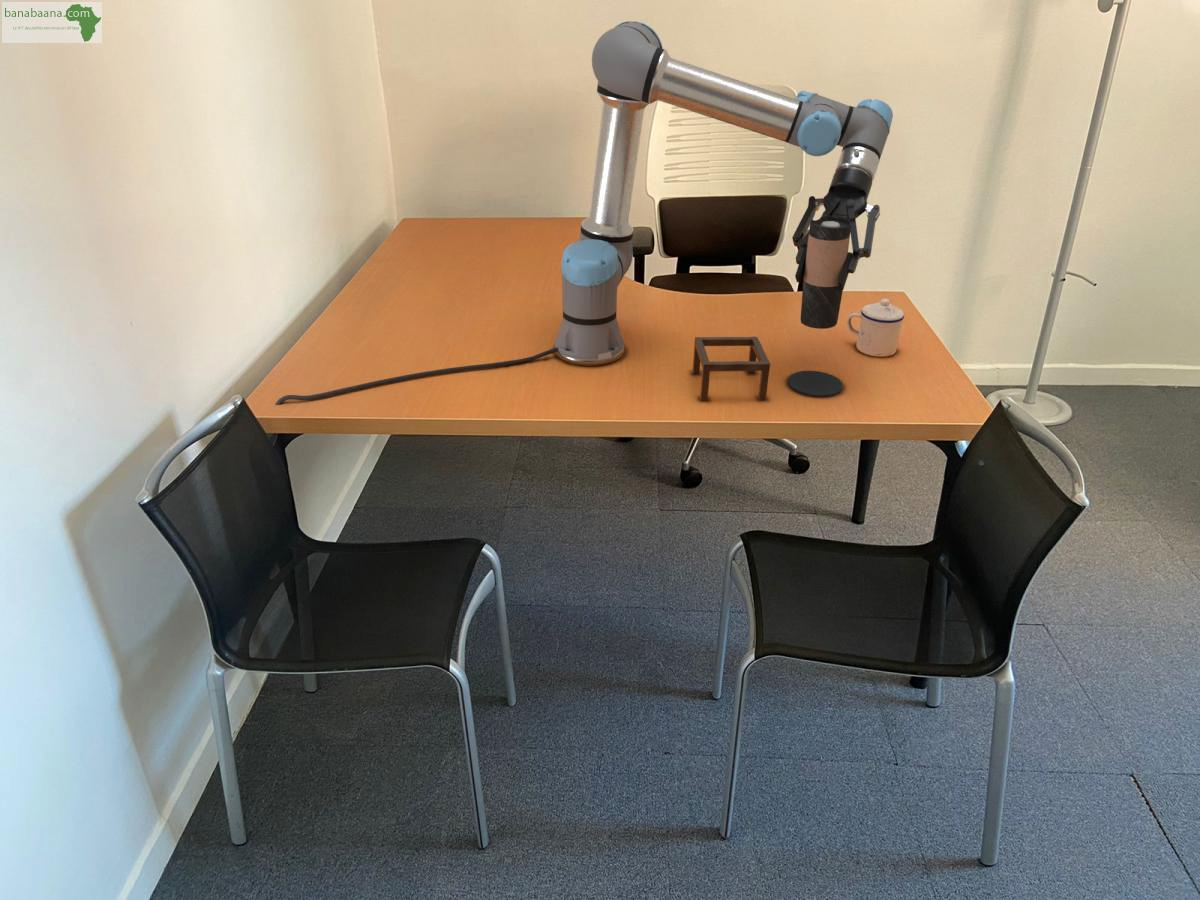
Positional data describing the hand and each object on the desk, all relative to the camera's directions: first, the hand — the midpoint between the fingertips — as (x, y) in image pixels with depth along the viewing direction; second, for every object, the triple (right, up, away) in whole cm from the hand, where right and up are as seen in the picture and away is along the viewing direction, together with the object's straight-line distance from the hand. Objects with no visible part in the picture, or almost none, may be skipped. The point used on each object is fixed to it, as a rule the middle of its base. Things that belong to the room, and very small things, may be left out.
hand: (819, 282), depth 164 cm
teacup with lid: (+19, -9, +31) cm, 37 cm away
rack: (-15, -18, +14) cm, 28 cm away
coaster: (+3, -18, +15) cm, 24 cm away
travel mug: (+2, -7, +7) cm, 10 cm away
